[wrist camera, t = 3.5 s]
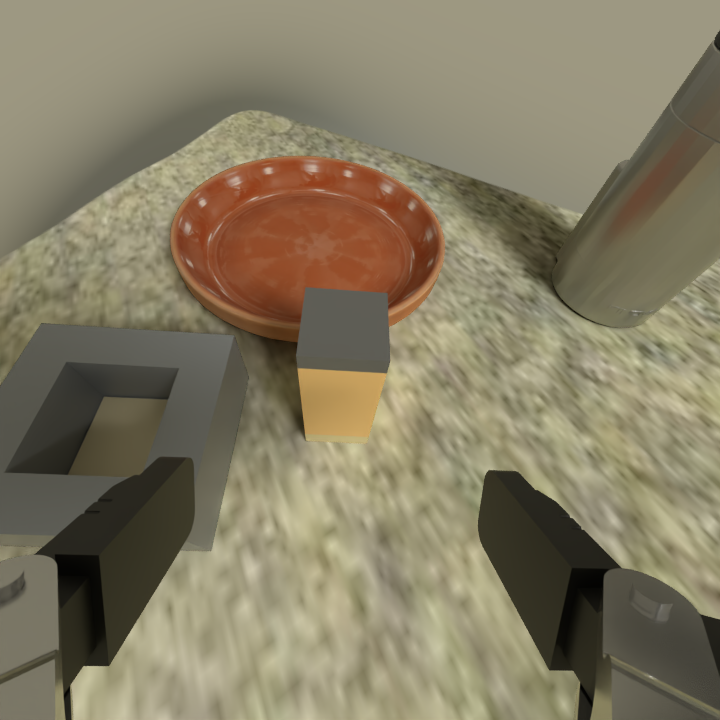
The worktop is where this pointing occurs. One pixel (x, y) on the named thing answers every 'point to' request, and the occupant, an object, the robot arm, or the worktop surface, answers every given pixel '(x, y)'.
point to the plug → (342, 362)
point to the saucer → (303, 240)
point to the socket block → (114, 422)
